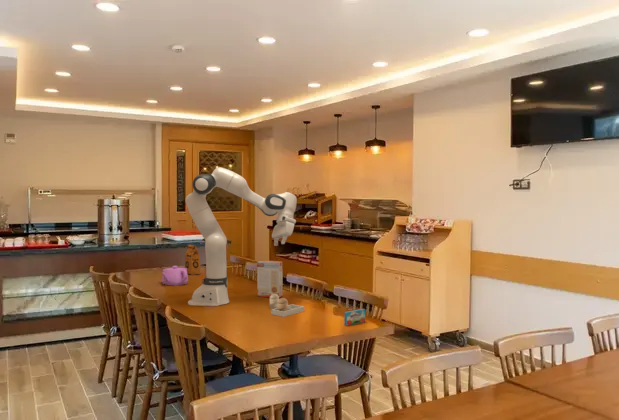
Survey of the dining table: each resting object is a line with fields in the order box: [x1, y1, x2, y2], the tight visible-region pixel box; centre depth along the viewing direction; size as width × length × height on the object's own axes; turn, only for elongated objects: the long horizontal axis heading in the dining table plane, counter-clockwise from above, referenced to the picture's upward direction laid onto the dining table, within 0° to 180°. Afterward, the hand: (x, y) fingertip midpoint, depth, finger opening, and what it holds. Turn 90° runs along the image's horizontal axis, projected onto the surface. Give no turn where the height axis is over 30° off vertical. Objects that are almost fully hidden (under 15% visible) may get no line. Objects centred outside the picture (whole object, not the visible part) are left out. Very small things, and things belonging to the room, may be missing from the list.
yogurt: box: [343, 308, 366, 327], centre depth 238 cm, size 12×2×6 cm, turn 129°
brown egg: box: [278, 297, 289, 312], centre depth 254 cm, size 5×5×8 cm
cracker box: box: [256, 260, 284, 298], centre depth 301 cm, size 14×6×21 cm, turn 71°
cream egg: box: [269, 294, 280, 309], centre depth 268 cm, size 5×5×8 cm
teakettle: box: [161, 265, 189, 287], centre depth 341 cm, size 17×17×12 cm
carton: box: [270, 303, 305, 318], centre depth 257 cm, size 16×8×3 cm, turn 141°
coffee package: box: [184, 244, 201, 276], centre depth 384 cm, size 10×12×22 cm
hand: (279, 244), depth 280 cm, fingers open, 8 cm apart
